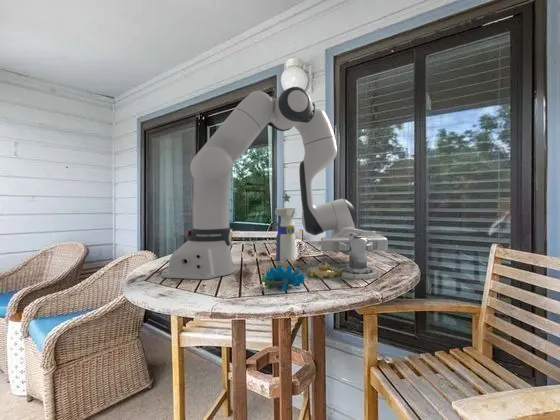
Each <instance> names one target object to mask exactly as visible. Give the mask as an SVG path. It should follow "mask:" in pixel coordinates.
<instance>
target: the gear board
mask: <svg viewBox="0 0 560 420" xmlns="http://www.w3.org/2000/svg"><path fill="white" fill-rule="evenodd" d="M319 264H320V263H318V264H303V266H304V270H305V273H306V277H307V279H308V280H356V279H355V278H353V279H352V278H347V277H343V276H342V273H341V275H340V277H334V278H323V279H322V278H317V277H310V275H308V274H307V269H309V268H310V267H315V266H319ZM329 264H330V263H329ZM348 265H349V263H343V264H342V263H339V264H338V263H337V264H336V263H334V264H333V263H331V264H330V267H337V268H338V269H341V268H345V267H346V266H348ZM345 273H346V272H345ZM377 279H379V280H381V279H382V278H381V277H380V276H379V275H378V274H377V276H376V277H373V278H369V279H368V280H377Z"/></svg>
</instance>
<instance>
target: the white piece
mask: <svg viewBox="0 0 560 420" xmlns="http://www.w3.org/2000/svg"><path fill="white" fill-rule="evenodd" d="M281 198H283V203H286V202H288V203H290V200H289V199H290V198H292V196H290V195H288V194H287V193H285V195H282V196H281ZM297 214H298V213H297V208H294V207H283V208H282V207H280V208H279V207H277V208H275V210H274V215H276V216H277V223H276V224H275V225H276V226H277V227H276V228H277V229H276V230H277V232H276V233H277V234H276V237H275V238H276V239H275V242H276V244H275V245H276V247H275V248H276V249H275V250H276V251H275V261H277V262H287V261H288V260H290V259H295V258H296V257H297V251H296V249H297V246H296V234H295V225H296V223H295V222H294V218H296V217H297Z"/></svg>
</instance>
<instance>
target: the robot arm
mask: <svg viewBox="0 0 560 420" xmlns="http://www.w3.org/2000/svg"><path fill="white" fill-rule="evenodd" d="M266 126H268V127H271V128H273V129H275V130H276V131H279V132H285V131H289V130H291V129H292V128H295V129H296V130H297V131H298V132H299V134H300V136H301V138H302V144H303V147H304V156H303V160H301V162H300V163H299V168H298V170H299V187H300V188H299V190H300V198H301V199H300V201H301V210H302V211H301V224H302V227H303V229H304V231H305V232H306V233H307V234H310V235H312V236H317V235H320V234H323V233H324V232H329V231H330V236H324V237H321V238H320V240H318V241H317V244H318V245H320V250H321V252H340V253H342V254H344V255H346V256H349V251H350V245H349V238H350V237H354V236H362V237H365V238H367V253H369V252H376V251H377V252H380V251H381V252H382V251H383V252H384V251H388V245H389V244H388V243H389V242H388V238H387V237H385V236H383V235H382V234H378V233H376V230H366V229H359V228H357V226H358V215H357V212H356V208H355V207H354V206H353V204H352V203H351V202H350V201H349V200H347V199H345V198H339V199H335V200H332V201H329V202H328V201H327V202H325V203H321V204H317V205H315V204H314V197H313V196H314V195H313V186H312V183H313V180H314V178H315V177H316V175H318V174H319V173H320V172H321V171H323V170H324V169H326V168H327V167H328V166H329V165H330V164H331V163H332V162H333V161H334V160H335V158H336V157H337V155H338V147H337V142H336V141H337V140H336V138H335V137H336V136H335V133H334V130H333V127H332V125H331V122H330V119H329V117H328V115H327V113H326V112H325V111H324V110H323V109H321V108H316V105H315V103H314V102H313V100H312V99H311V96H310V94H309V93H308V92H307V91H306V90H305V89H303V88H302V87H299V86H291V87H288V88H287V89H284V90H283V92H281V93H280V95H278V97H276V98H275V97H271V96H270V95H269V94H268V93H266V92H264V91H263V90H262V91H261V90H254V91H252V92H250V94H248V95H247V96H246V97H245V98H243V99H242V100H241V102H239V103H238V105H237V106H235V108H234V109H233V110H232V112H231V113H230V114H229V115H228V116H227V117H226V119H225V120H224V121H223V122H222V124H220V126H219V127H218V129H216V131H215V132H214V134H212V135H211V137H210V138H209V139H208V141H206V143H205V144H204V145H203V146H202V148H200V150H199V151H198V152H197V153H196V154H195V155H194V156H193V158H192V160H191V162H190V174H191V176H192V178H194V179H193V199H192V200H193V201H192V217H193V219H192V220H193V228H191V229H189V230H188V231H187V232H186V238H187V241H186V242H185V243H183V244H182V245H181V246H180V247H179V248H177V249H175V251H173V252H172V254H171V255H170V258H169V261H168V267H167V268H165V269H163V270H162V271H161V275H160V276H161V277H162V278H164V279H165V278H167V279H187V280H188V279H189V280H210V279H211V280H212V279H214V278H216V277H217V278H218V277H223V276H228V275H231V274H233V273H234V272H236V269H235V266H234V262H233V257H232V252H231V244H232V231H231V227H230V213H229V212H230V209H229V205H230V193H231V184H232V183H231V182H232V170H233V169H232V168H233V165H234V164H235V163H236V162H237V160H238V159H239V158H240V157H241V156H242V155H243V154H244V153H246V151H247V150H248V149H249V147H250V146H252V144H253V143H254V141H255V140H256V139H257V138H258V136H259V135H260V133H261V132H262V131H263V129H264V128H265V127H266Z"/></svg>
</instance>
